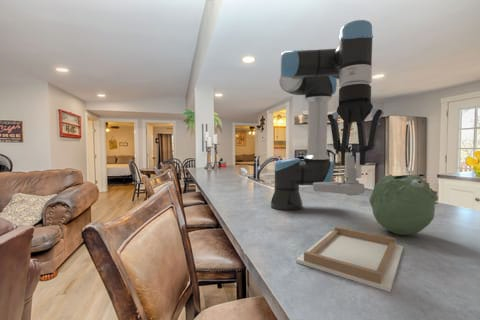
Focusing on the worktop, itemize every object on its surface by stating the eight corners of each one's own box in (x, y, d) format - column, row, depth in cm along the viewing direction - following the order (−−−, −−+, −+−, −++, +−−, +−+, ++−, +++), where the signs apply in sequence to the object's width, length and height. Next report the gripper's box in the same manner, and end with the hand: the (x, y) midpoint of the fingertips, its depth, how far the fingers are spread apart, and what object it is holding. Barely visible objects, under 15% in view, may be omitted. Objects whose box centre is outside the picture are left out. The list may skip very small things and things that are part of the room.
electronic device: (320, 158, 74) (366, 155, 60) (322, 190, 73) (369, 194, 60) (307, 159, 71) (353, 156, 58) (309, 192, 71) (355, 196, 58)
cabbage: (376, 222, 92) (377, 170, 91) (439, 235, 78) (442, 174, 77) (361, 232, 81) (362, 173, 80) (432, 249, 67) (435, 178, 66)
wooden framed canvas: (330, 233, 80) (330, 225, 80) (403, 249, 67) (403, 239, 67) (296, 262, 60) (296, 251, 60) (390, 292, 47) (390, 278, 47)
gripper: (320, 88, 64) (319, 176, 65) (386, 77, 54) (383, 181, 55) (330, 93, 69) (328, 174, 70) (391, 84, 60) (388, 178, 61)
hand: (352, 177), depth 63 cm, fingers closed on electronic device, 2 cm apart
